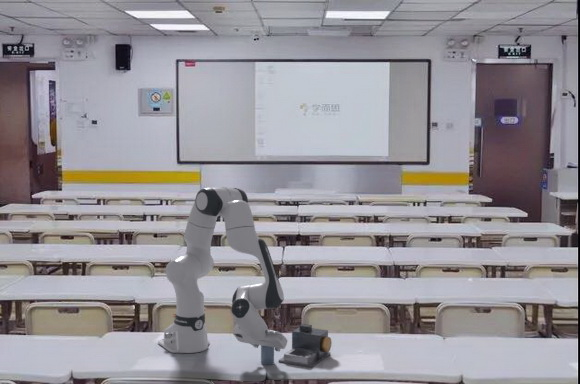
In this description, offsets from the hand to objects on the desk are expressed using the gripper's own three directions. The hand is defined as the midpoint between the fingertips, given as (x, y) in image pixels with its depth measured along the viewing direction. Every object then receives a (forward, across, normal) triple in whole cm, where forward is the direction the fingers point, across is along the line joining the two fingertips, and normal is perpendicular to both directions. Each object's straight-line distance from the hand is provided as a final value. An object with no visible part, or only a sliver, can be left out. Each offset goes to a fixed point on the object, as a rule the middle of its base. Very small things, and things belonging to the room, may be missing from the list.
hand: (267, 347), depth 287 cm
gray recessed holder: (+13, -11, -4) cm, 17 cm away
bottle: (+4, 0, +4) cm, 6 cm away
